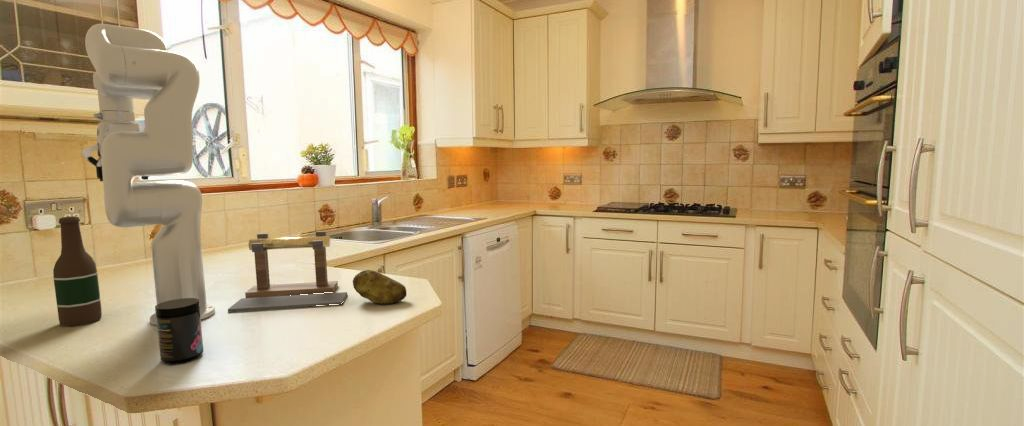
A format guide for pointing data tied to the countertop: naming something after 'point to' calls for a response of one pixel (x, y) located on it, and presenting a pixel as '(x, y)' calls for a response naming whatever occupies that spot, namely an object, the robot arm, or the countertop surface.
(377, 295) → the potato
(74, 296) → the beer bottle
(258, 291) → the hook stand
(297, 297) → the mat
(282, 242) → the rail
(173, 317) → the supplement container
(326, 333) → the countertop surface
